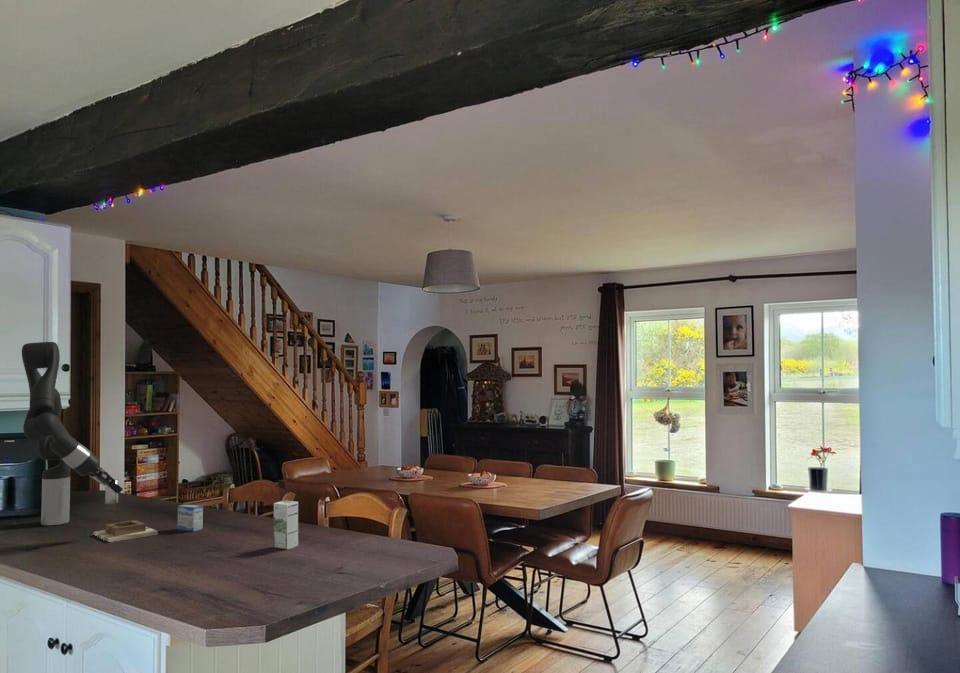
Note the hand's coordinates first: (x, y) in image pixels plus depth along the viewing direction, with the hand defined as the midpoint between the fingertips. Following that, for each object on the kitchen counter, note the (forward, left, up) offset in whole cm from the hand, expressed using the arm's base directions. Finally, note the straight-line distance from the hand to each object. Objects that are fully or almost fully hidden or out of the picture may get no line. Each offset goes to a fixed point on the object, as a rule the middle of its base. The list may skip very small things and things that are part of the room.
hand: (117, 490), depth 242 cm
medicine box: (+9, +22, -16) cm, 28 cm away
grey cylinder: (0, -2, -4) cm, 5 cm away
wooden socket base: (0, +3, -16) cm, 16 cm away
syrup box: (+58, +32, -16) cm, 68 cm away
